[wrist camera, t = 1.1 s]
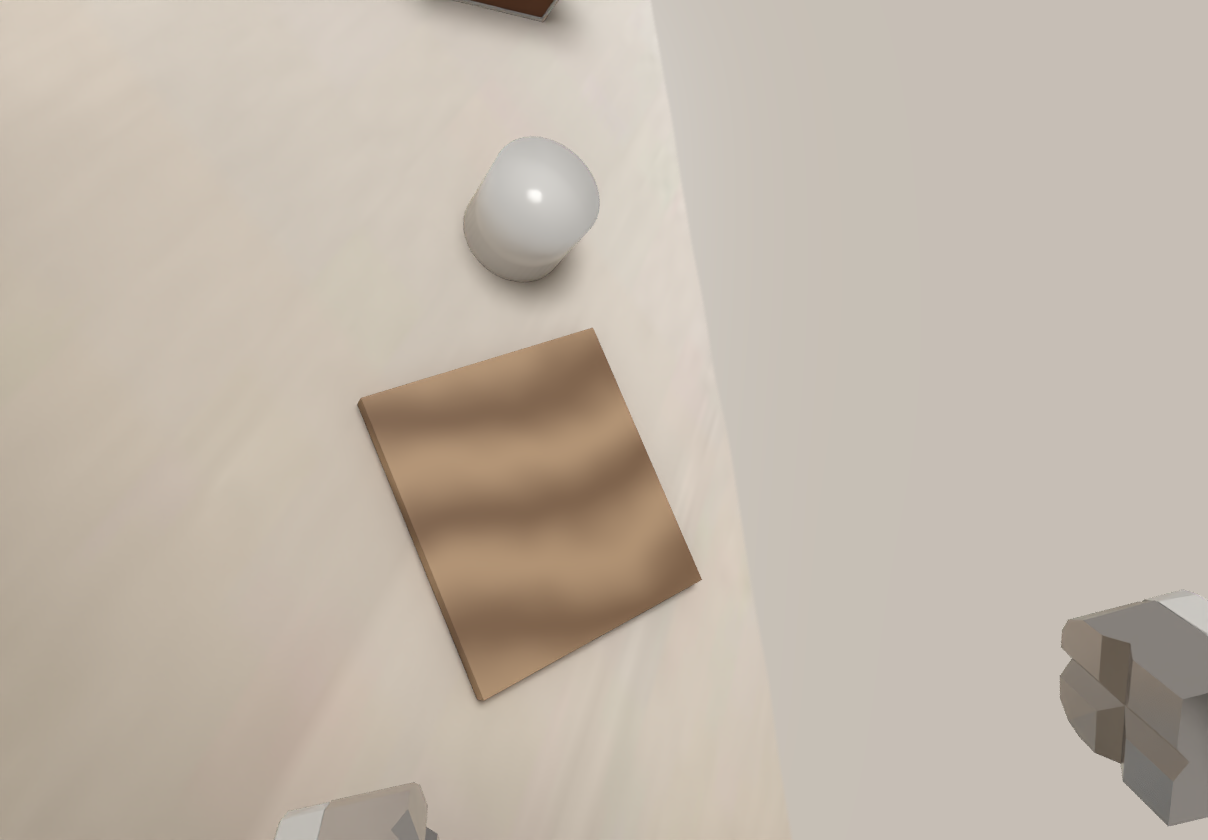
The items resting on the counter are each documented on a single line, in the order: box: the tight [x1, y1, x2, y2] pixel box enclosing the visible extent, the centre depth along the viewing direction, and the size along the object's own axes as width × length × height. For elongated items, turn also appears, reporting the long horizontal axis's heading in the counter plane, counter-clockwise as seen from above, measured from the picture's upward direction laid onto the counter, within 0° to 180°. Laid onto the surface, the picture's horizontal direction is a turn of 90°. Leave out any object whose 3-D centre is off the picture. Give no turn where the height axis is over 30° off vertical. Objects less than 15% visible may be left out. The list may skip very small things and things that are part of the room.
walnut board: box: [358, 328, 702, 700], centre depth 48 cm, size 18×16×1 cm
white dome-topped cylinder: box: [463, 137, 600, 282], centre depth 50 cm, size 7×7×6 cm
